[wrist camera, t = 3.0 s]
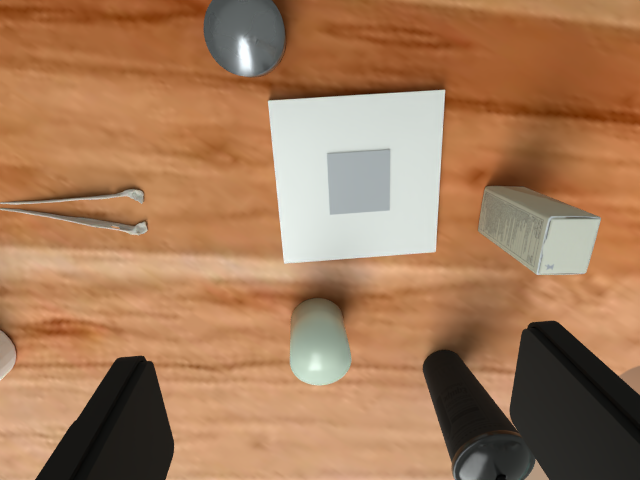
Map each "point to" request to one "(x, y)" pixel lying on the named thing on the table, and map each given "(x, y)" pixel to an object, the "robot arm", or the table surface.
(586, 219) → the box
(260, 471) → the table surface
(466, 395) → the drinking cup
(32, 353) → the table surface
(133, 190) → the tweezers
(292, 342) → the pale green capsule
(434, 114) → the white square plate
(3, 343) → the mug
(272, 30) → the dark tin
